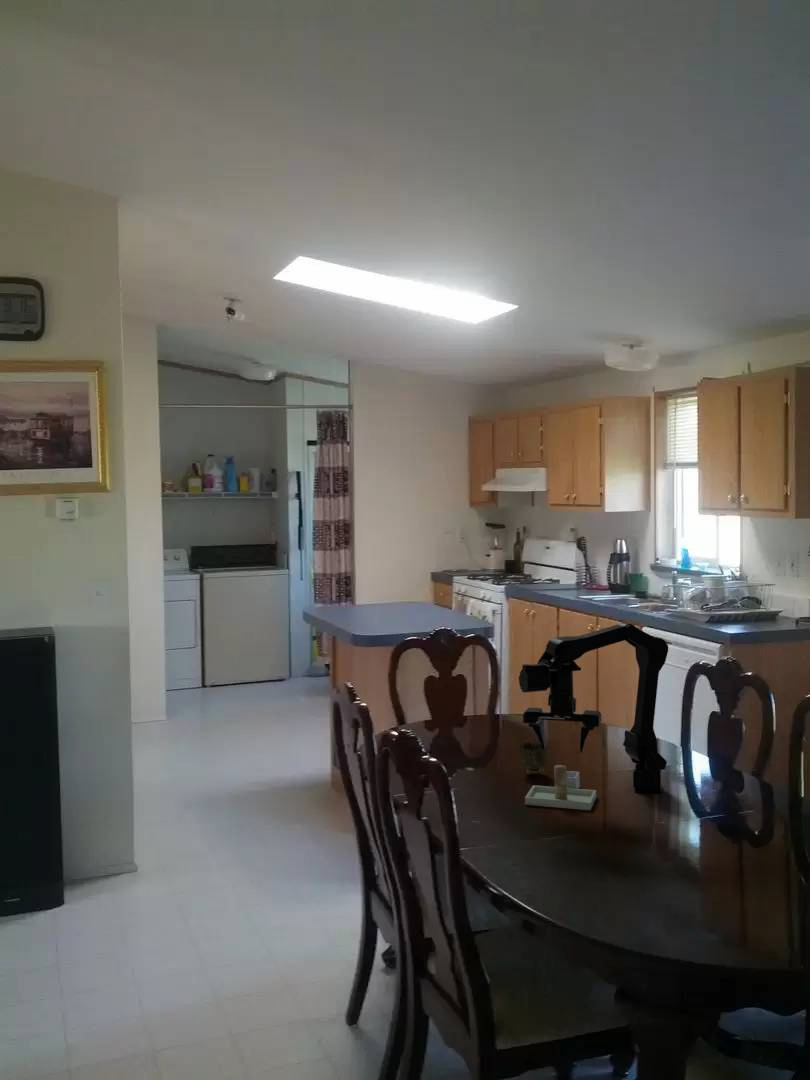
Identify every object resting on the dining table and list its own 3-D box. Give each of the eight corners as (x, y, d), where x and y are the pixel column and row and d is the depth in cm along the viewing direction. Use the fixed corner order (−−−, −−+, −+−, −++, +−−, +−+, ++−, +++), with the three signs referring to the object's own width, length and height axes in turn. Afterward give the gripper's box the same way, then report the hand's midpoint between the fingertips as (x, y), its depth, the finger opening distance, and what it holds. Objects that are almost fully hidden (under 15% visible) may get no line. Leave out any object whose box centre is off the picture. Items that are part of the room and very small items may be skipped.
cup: (539, 779, 250) (538, 750, 249) (515, 775, 254) (514, 746, 254) (552, 772, 256) (551, 743, 255) (528, 768, 260) (528, 740, 260)
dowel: (568, 797, 233) (567, 765, 232) (566, 800, 230) (565, 768, 230) (556, 796, 234) (555, 764, 233) (554, 799, 231) (553, 768, 231)
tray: (596, 797, 234) (596, 790, 234) (590, 810, 225) (590, 802, 224) (533, 792, 239) (533, 785, 239) (525, 804, 230) (525, 797, 230)
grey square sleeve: (579, 787, 243) (579, 771, 242) (576, 793, 237) (576, 778, 237) (558, 785, 244) (558, 770, 244) (554, 791, 239) (554, 776, 239)
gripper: (603, 684, 236) (604, 745, 237) (530, 681, 242) (532, 740, 243) (597, 693, 225) (599, 757, 226) (521, 690, 232) (523, 752, 232)
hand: (562, 751), depth 232 cm, fingers open, 9 cm apart
